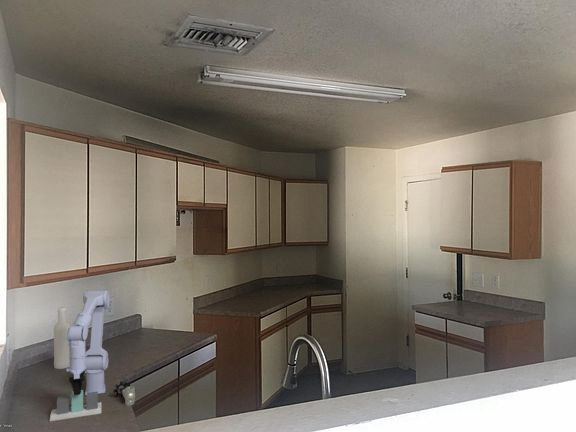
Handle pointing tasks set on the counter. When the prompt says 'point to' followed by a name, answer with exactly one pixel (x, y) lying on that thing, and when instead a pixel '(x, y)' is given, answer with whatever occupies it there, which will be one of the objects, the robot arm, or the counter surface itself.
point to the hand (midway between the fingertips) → (77, 390)
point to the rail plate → (66, 411)
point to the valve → (126, 393)
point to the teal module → (77, 402)
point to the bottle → (61, 341)
